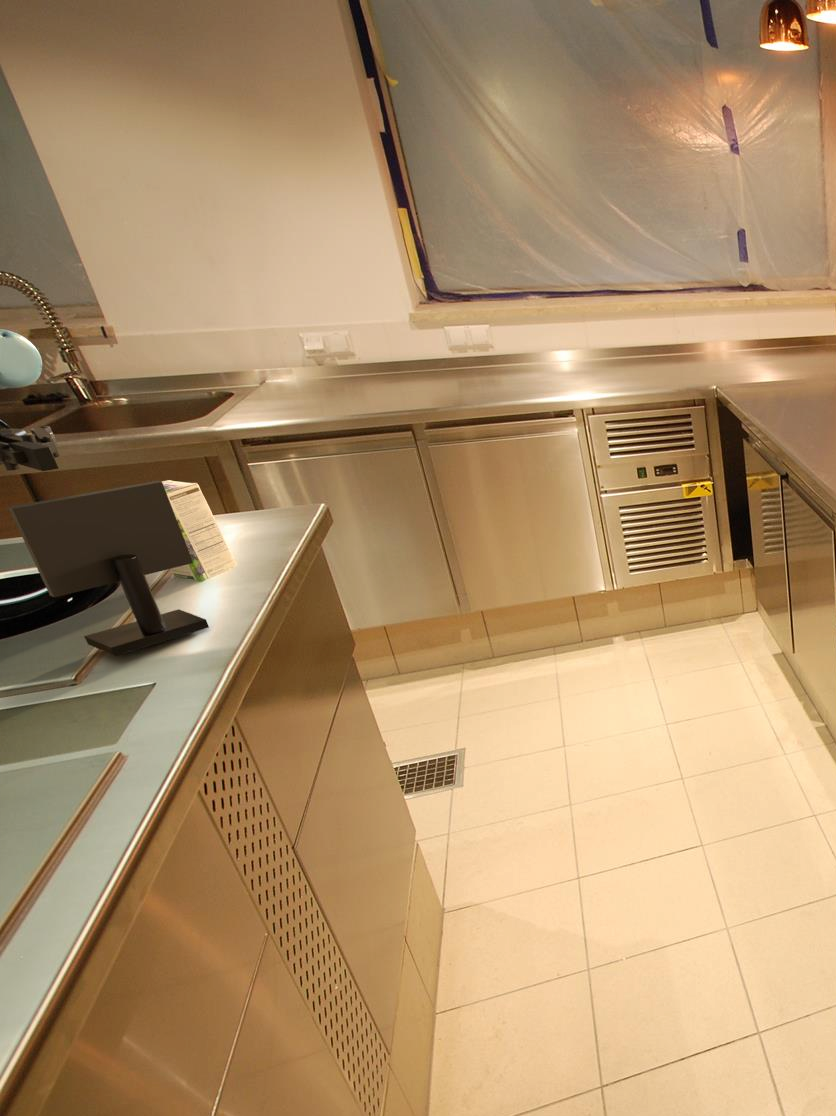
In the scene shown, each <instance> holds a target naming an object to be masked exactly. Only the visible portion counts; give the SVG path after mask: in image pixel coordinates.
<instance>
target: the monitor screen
mask: <svg viewBox="0 0 836 1116" xmlns="http://www.w3.org/2000/svg"><path fill="white" fill-rule="evenodd" d="M8 511H9V512H10V514H11V516H12V519H13V521H14V523H15V525H16V527H17V529H18V531H19V533H20V535H21V537H22V540H23V542H24V544H25V546H26V548H27V550H28V552H29V554H30V556H31V559H32V560H33V563H34V565H35V567H36V569H37V571H38V573H39V575H40V577H41V580H42V582H43V584H44V586H45V588H46V590H47V592H48V594H49V596H50V597H52V598H58V597H63V596H67V595H70V594H75V593H78V592H82V591H87V590H91V589H95V588H99V587H103V586H106V585H107V586H108V585H111V584H114V583H118V582H119V583H120V581H119V579H118V577H117V574H116V572H115V570H114V567H113V565H112V563H111V559H112V558H114V557H117V556H121V555H129V554H132V555H136V556H137V558H138V561H139V563H140V566H141V568H142V570H143V573H144V575H145V576H147V575H150V574H156V573H159V572H163V571H167V570H170V569H171V568H175V567H180V566H184V565H188V564H192V563H193V560H192V558H191V555H190V552H189V550H188V547H187V545H186V542H185V540H184V537H183V534H182V532H181V529H180V527H179V524H178V522H177V519H176V516H175V514H174V511H173V509H172V506H171V504H170V501H169V498H168V496H167V493H166V491H165V488H164V486H163V483H162V481H160V480H154V481H147V482H143V483H137V484H131V485H125V486H120V487H114V488H109V489H104V490H97V491H91V492H85V493H80V494H74V495H68V496H63V497H57V498H52V499H46V500H40V501H35V502H27V503H23V504H18V505H12V506H8Z"/></svg>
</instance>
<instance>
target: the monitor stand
mask: <svg viewBox="0 0 836 1116" xmlns="http://www.w3.org/2000/svg"><path fill="white" fill-rule="evenodd" d="M111 563H112V565H113V567H114V570H115V572H116V574H117V577H118V579H119V583H120V586H121V588H122V591H123V592H124V596H125V597H126V599H127V602H128V604H129V606H130V609H131V612H132V613H133V615H134V618H135V620H136V621H132V622H129V623H125V624H122V625H117V626H115V627H111V628H108V629H107V628H106V629H103V630H101V631H98V632H93V633H90V634H87V635H84V636H83V637H84V639H85V641H86V644H87V645H88V646H90V647H93V648H95V649H98V650H100V651H102V652H104V653H107V654H109V655H112V656H113V657H116V656H120V655H125V654H126V653H130V652H133V651H134V652H135V651H136V650H139V649H143V648H146V647H150V646H153V645H156V644H160V643H163V642H166V641H169V640H173V639H176V638H179V637H183V636H185V635H189V634H192V633H196V632H199V631H202V630H205V629H209V628H210V626H209V624H208V621H207V619H206V618H203V617H201V616H197V615H195V614H193V613H190V612H187V611H184V610H181V609H180V608H179V609H175V610H171V611H168V612H165V613H161V611H160V609H159V606H158V604H157V601H156V599H155V596H154V594H153V592H152V589H151V587H150V585H149V583H148V580H147V577H146V575H144V573H143V570H142V568H141V566H140V563H139V561H138V558H137V556H136V555H132V554H129V555H121V556H117V557H114V558H112V559H111Z"/></svg>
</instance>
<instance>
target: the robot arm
mask: <svg viewBox="0 0 836 1116" xmlns="http://www.w3.org/2000/svg"><path fill="white" fill-rule="evenodd" d="M42 372H43V359H42V356H41V354H40V352H39V351H38V349H37V347H36V346H35V345H34V344H33V343H32V342H31V341H30V340H29V339H28V338H27V337H25V336H23V335H21V334H19V333H17V332H15V331H11V330H9V329H3V328H0V390H6V389H20V388H25V387H28V386H30V385H32V384H34V383H35V382H36V381H38V379H39V378H40V377H41V374H42ZM29 431H30V432H27V431H25V430H24V429H21V428H12V427H10V425H8V424H7V423H6V422H5V421H3V420H1V419H0V466H1V465H4V468H5V470H6V471H9V472H11V471H17V470H20V469H21V468H20V466H22V467H23V466H24V467H26V468H30V469H34V470H38V471H41V472H47V471H53V470H59V466H58V464H57V462H56V460H55V459H56V458H58V457H61V453H60V451H59V449H58V446H57V445H58V441H57V439H56V437H55V435H54V433H53V431H52V428H51V426H49V425H41V426H38V427H36V428H30V429H29Z"/></svg>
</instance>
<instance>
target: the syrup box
mask: <svg viewBox="0 0 836 1116" xmlns="http://www.w3.org/2000/svg"><path fill="white" fill-rule="evenodd" d="M161 482H162V483H163V486H164V488H165V491H166V493H167V496H168V498H169V501H170V504H171V506H172V509H173V511H174V514H175V516H176V519H177V522H178V524H179V527H180V529H181V532H182V534H183V537H184V540H185V542H186V545H187V547H188V550H189V552H190V555H191V558H192V560H193V563H192V564H188V565H184V566H180V567H175V568H171V569H169V570H170V572H171V573H172V576H173V577H174V578H175V579H181V580H187V581H194V582H202V583H203V582H205V581H207V580H209V579H211V577H212V578H214V577H216V576H219V575H221V574H222V573H225V572H228V571H229V570H231V569H234V568H235V567H238V564H237V562H236V560H235V558H234V555H233V554H232V552H231V550H230V548H229V545H228V543H227V541H226V539H225V537H224V535H223V533H222V531H221V528H220V527H219V525H218V523H217V521H216V518H215V517H214V515H213V512H212V510H211V507H210V506H209V504H208V502H207V500H206V498H205V496H204V494H203V492H202V489H201V487H200V485H199V484H198V482H185V481H175V480H172V479H171V480H170V479H169V480H168V479H167V480H163V481H161Z"/></svg>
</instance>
